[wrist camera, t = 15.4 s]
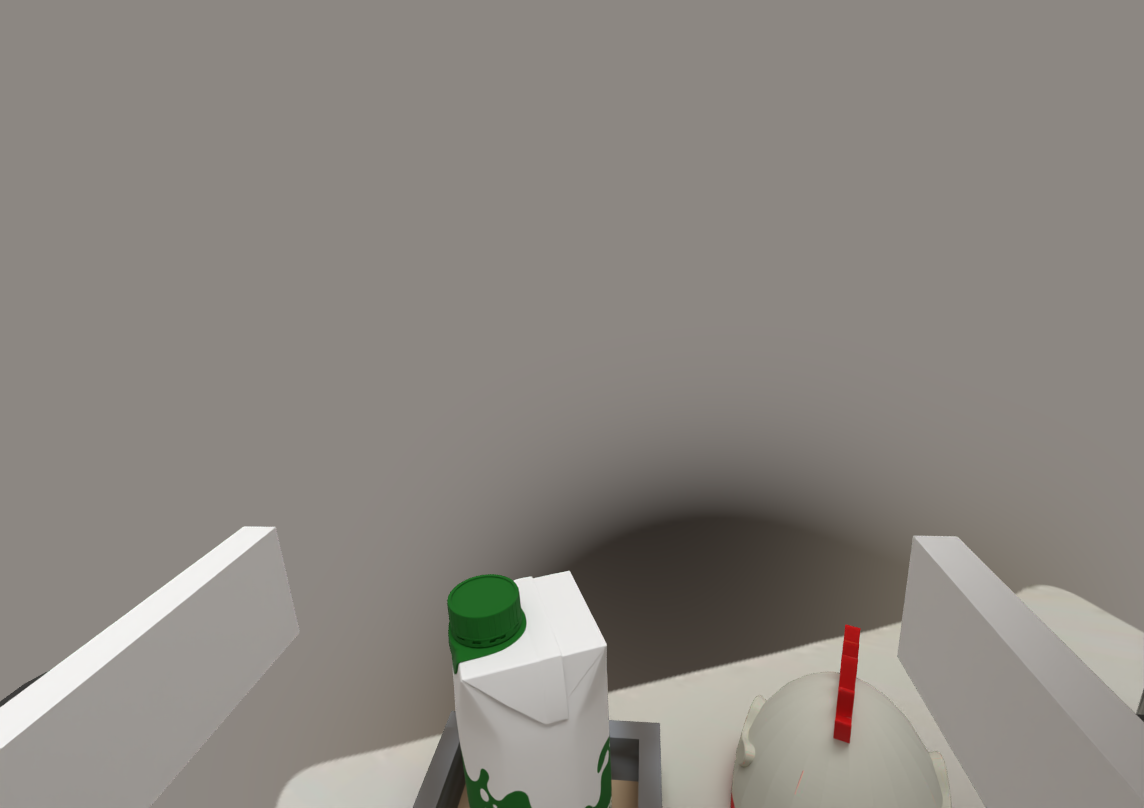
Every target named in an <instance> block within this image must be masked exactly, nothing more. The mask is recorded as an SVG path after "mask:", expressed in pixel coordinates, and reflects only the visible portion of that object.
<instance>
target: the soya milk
mask: <svg viewBox="0 0 1144 808" xmlns="http://www.w3.org/2000/svg"><path fill="white" fill-rule="evenodd" d="M447 601H448V603H447V604H448V612H449V620H450V622H449V630H448V631H449V632H448V634H449V635H448V636H449V646H450V650H451V653H452V660H453V678H454V691H455V710H456V719H457V726H458V733H459V740H460V747H461V754H462V761H463V768H464V775H465V782H466V789H467V796H468V802H469V807H470V808H612V781H611V757H610V734H609V711H608V688H607V663H606V662H607V657H606V656H607V644H606V642H605V640H604V638H603V636H602V634H601V632H600V630H599V628H598V626H597V624H596V622H595V620H594V618H593V616H592V614H591V613H590V610H589V608H588V606H587V605H586V603H585V601H584V599H583V597H582V595H581V593H580V591H579V589H578V587H577V585H576V583H575V581H574V579H573V577H572V575H571V573H570V571H566V572H561V573H557V574H552V575H547V576H543V577H538V578H533V579H532V577H525V578H520V579H517V580H514V581H513V580H511V579H510V578H507V577H505V576H501V575H494V574H492V575H491V574H490V575H489V574H488V575H480V576H476V577H472V578H469V579H467V580H465V581H463V582H461V583H460V584H458V585H457V586H456V587H455V588H454V589H453V590H452V591H451V592H450V594H449V596H448V600H447Z"/></svg>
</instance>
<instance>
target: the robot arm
mask: <svg viewBox="0 0 1144 808" xmlns="http://www.w3.org/2000/svg"><path fill="white" fill-rule="evenodd" d="M298 634H299V627H298V623H297V618H296V614H295V609H294V605H293V601H292V597H291V592H290V588H289V583H288V580H287V575H286V570H285V566H284V561H283V557H282V553H281V549H280V544H279V540H278V535H277V531H276V527H243V528H241V529H240V530H239V531H237V532H236V533H235V534H233V535H232V536H231V537H229V538H228V539H226V540H225V541H224V542H222V543H221V544H220V545H218V546H217V547H216V548H214V549H213V550H212V551H210V552H209V553H208V554H206V555H205V556H204V557H202V558H201V559H200V560H198V561H197V562H196V563H194V564H193V565H191V566H190V567H189V568H188V569H186V570H185V571H184V572H182V573H181V574H179V575H178V576H177V577H175V578H174V579H173V580H171V581H170V582H169V583H167V584H166V585H165V586H163V587H162V588H161V589H159V590H158V591H157V592H155V593H154V594H152V595H151V596H150V597H148V598H147V599H146V600H144V601H143V602H142V603H140V604H139V605H138V606H136V607H135V608H134V609H132V610H131V611H130V612H128V613H127V614H125V615H124V616H123V617H121V618H120V619H119V620H117V621H116V622H115V623H113V624H112V625H111V626H109V627H108V628H107V629H105V630H104V631H103V632H101V633H100V634H99V635H97V636H96V637H95V638H93V639H92V640H90V641H89V642H88V643H87V644H85V645H84V646H82V647H81V648H80V649H78V650H77V651H76V652H74V653H73V654H72V655H70V656H69V657H68V658H66V659H65V660H64V661H62V662H61V663H60V664H58V665H57V666H55V667H54V668H53V669H51V670H49V671H48V672H46V673H44V674H42V675H40V676H38V677H36V678H35V679H33V680H31V681H29V682H27V683H25V684H24V685H22V686H21V687H19V688H18V689H17V690H15V691H14V692H13V693H11V694H10V695H9V696H7V697H6V698H4V699H3V700H2V701H1V702H0V808H149V807H150V806H151V805H152V804H153V803H154V802H155V800H156V799H157V798H158V797H159V796H160V794H161V793H162V792H163V791H164V790H165V789H166V788H167V786H168V785H169V784H170V783H171V782H172V781H173V779H174V778H175V777H176V776H177V774H178V773H179V772H180V771H181V770H182V769H183V768H184V766H185V765H186V764H187V763H188V761H190V760H191V758H192V757H193V756H194V755H195V754H196V753H197V751H198V750H199V749H200V748H201V747H202V746H203V744H204V743H205V742H206V741H207V740H208V738H209V737H210V736H211V735H212V734H213V733H214V731H215V730H216V729H217V728H218V727H219V726H220V725H221V723H222V722H223V721H224V720H225V719H226V718H227V716H228V715H229V714H230V713H231V712H232V711H233V709H234V708H235V707H236V706H237V705H238V703H239V702H240V701H241V700H242V699H243V698H244V696H245V695H246V694H247V693H248V692H249V691H250V690H251V688H252V687H253V686H254V685H255V684H256V682H257V681H258V680H259V679H260V678H261V677H262V675H263V674H264V673H265V672H266V671H267V670H268V668H269V667H270V666H271V665H272V664H273V663H274V661H275V660H276V659H277V658H278V657H279V656H280V655H281V653H282V652H283V651H284V650H285V649H286V647H287V646H288V645H289V644H290V643H291V642H292V640H293V639H294V638H295V637H296V636H297V635H298ZM897 657H898V658H899V660H900V662H901V663H902V665H903V667H904V669H905V670H906V672H907V674H908V675H909V677H910V679H911V680H912V682H913V684H914V686H915V687H916V689H917V691H918V692H919V694H920V696H921V698H922V699H923V701H924V703H925V704H926V706H927V708H928V710H929V711H930V713H931V715H932V716H933V718H934V720H935V721H936V723H937V725H938V727H939V728H940V730H941V732H942V733H943V735H944V737H945V739H946V740H947V742H948V744H949V745H950V747H951V749H952V751H953V752H954V754H955V756H956V757H957V759H958V761H959V762H960V764H961V766H962V768H963V769H964V771H965V773H966V774H967V776H968V778H969V780H970V781H971V783H972V785H973V786H974V788H975V790H976V792H977V793H978V795H979V797H980V798H981V800H982V802H983V803H984V805H985V807H986V808H1144V690H1143V693H1142V696H1141V699H1140V703H1139V706H1138V709H1137V712H1136V714H1135V713H1134V712H1133V711H1132V710H1131V709H1130V708H1129V707H1128V706H1127V705H1126V704H1125V703H1124V702H1123V701H1122V700H1121V699H1120V698H1119V697H1118V696H1117V695H1116V694H1115V693H1114V692H1113V691H1112V690H1111V689H1110V688H1109V687H1108V686H1107V685H1106V684H1105V683H1104V682H1103V681H1102V680H1101V679H1100V678H1099V677H1098V676H1097V675H1096V674H1095V673H1094V672H1093V671H1092V670H1091V669H1090V668H1089V667H1088V666H1087V665H1086V664H1085V663H1084V662H1083V661H1082V660H1081V659H1080V658H1079V657H1078V656H1077V655H1076V654H1075V653H1074V652H1073V651H1072V650H1071V649H1070V648H1069V647H1068V646H1067V645H1066V644H1065V643H1064V642H1063V641H1062V640H1061V639H1060V638H1059V637H1058V636H1057V635H1056V634H1055V633H1054V632H1053V631H1052V630H1051V629H1050V628H1049V627H1048V626H1047V625H1046V624H1045V623H1044V622H1043V621H1042V620H1041V619H1040V618H1039V617H1038V616H1037V615H1036V614H1035V613H1034V612H1033V611H1032V610H1031V609H1030V608H1028V607H1027V606H1026V605H1025V604H1024V603H1023V602H1022V601H1021V600H1020V599H1019V598H1018V597H1017V596H1016V595H1015V594H1014V593H1013V592H1012V591H1011V590H1010V589H1009V588H1008V587H1007V586H1006V585H1005V584H1004V583H1003V582H1002V581H1001V580H1000V579H999V578H998V577H997V576H996V575H995V574H994V573H993V572H992V571H991V570H990V569H989V568H988V567H987V566H986V565H985V564H984V563H983V562H982V561H981V560H980V559H979V558H978V557H977V556H976V555H975V554H974V553H973V552H972V551H971V550H970V549H969V548H968V547H967V546H966V545H965V544H964V543H963V542H962V541H961V540H960V539H959V538H958V537H956V536H913V542H912V550H911V557H910V565H909V572H908V580H907V587H906V595H905V602H904V610H903V618H902V625H901V633H900V640H899V648H898V655H897Z"/></svg>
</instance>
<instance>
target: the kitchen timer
mask: <svg viewBox="0 0 1144 808" xmlns="http://www.w3.org/2000/svg"><path fill="white" fill-rule="evenodd" d="M859 637H860V628H857V627H854V626H849V625H845V634H844V642H843V652H842V659H841V669H840V673H836V672H820V673H812V674H808V675H806V676H803V677H801V678H798V679H796V680H793V681H791V682H789V683H788V684H786V685H785V686H783V687H782V688H781V689H780V690H779V691H778V692H776V693H775V694H774V695H773V696H772V697H771V698H769V699H768V700H766V699H764V698H763V697H762V696H761V695H758V696H756V697H755V699H754V700H753V702H752V704H751V707H750V709H749V712H748V715H747V718H746V720H745V723H744V727H743V730H742V734H741V737H740V741H739V744H738V748H737V752H736V760H735V765H734V772H733V782H732V792H731V808H952V806H951V795H950V788H949V781H948V775H947V769H946V765H945V762H944V759H943V757H942V755H941V754H940V753H939V752H937V751H934V752H928V751H927V749H926V748H925V746H924V744H923V743H922V741H921V739H920V738H919V736H918V734H917V733H916V731H915V729H914V728H913V726H912V725H911V723H910V722H909V720H908V719H907V718H906V716H905V715H904V714H903V713H902V712H901V711H900V710H899V709H898V708H897V707H896V706H895V705H894V704H893V703H892V702H891V701H890V699H889V698H888V697H887V696H885V695H884V694H883V693H882V692H880V691H879V690H877V689H876V688H874V687H873V686H872V685H870V684H869V683H867V682H865V681H862V680H860V679H858V678H856V674H857V664H858V651H859Z"/></svg>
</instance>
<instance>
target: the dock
mask: <svg viewBox="0 0 1144 808" xmlns="http://www.w3.org/2000/svg"><path fill="white" fill-rule="evenodd" d="M609 734H610V757H611V781H612V808H662V785H661V748H660V723H649V722H631V721H614V720H609ZM413 808H470V807H469V802H468V796H467V789H466V782H465V775H464V768H463V761H462V754H461V747H460V740H459V733H458V726H457V719H456V711H451V714H450V716H449V719H448V721H447V724H446V726H445V729H444V731H443V734H442V736H441V739H440V741H439V744H438V746H437V749H436V751H435V754H434V756H433V759H432V761H431V763H430V766H429V768H428V771H427V773H426V776H425V778H424V781H423V783H422V786H421V788H420V791H419V793H418V796H417V798H416V801H415V803H414V806H413Z"/></svg>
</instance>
